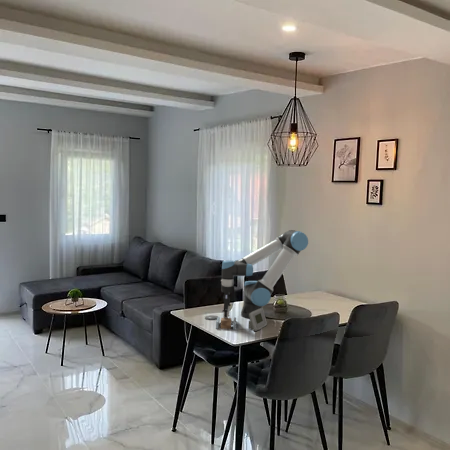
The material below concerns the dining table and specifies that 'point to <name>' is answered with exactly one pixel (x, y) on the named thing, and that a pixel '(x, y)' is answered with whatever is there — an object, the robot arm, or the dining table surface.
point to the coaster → (211, 317)
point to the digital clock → (257, 319)
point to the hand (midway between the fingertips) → (226, 319)
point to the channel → (231, 323)
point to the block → (225, 323)
